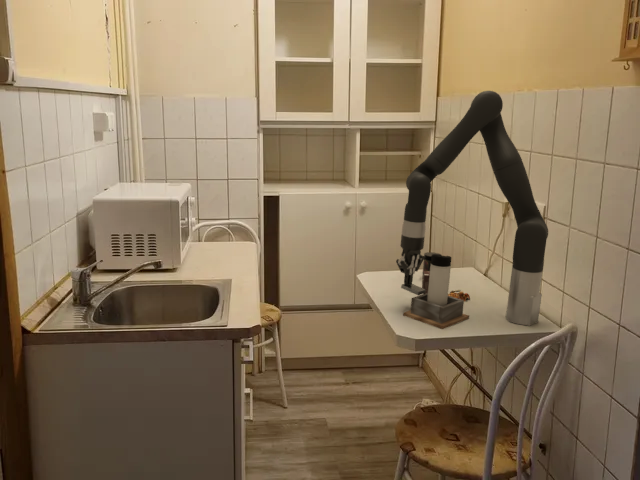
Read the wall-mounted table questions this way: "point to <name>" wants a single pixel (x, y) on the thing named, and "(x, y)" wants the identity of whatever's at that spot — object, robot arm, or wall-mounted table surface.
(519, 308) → the robot arm
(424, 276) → the box
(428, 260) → the supplement container
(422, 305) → the grey walled square tray
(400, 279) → the wall-mounted table surface
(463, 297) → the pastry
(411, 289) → the grey rectangular block
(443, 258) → the travel mug
